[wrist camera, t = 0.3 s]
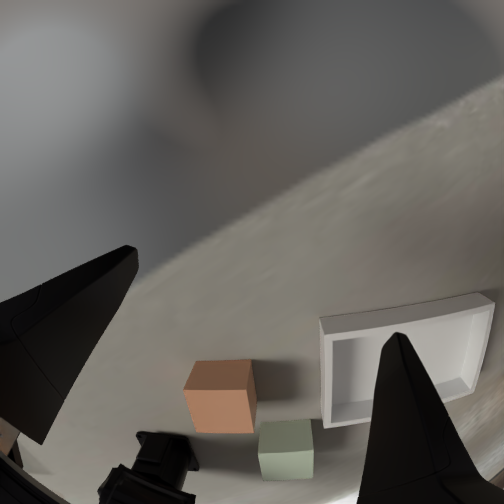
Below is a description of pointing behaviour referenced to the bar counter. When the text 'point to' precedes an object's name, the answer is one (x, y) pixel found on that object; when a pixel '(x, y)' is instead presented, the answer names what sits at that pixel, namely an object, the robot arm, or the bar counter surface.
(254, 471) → the bar counter surface
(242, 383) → the brick
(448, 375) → the tote
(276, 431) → the pale green block
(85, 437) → the bar counter surface
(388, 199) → the bar counter surface
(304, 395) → the bar counter surface
